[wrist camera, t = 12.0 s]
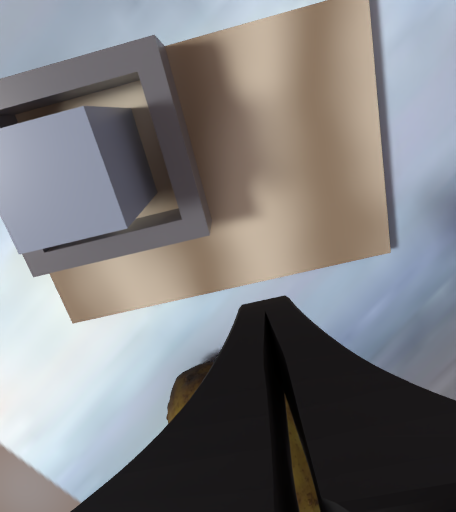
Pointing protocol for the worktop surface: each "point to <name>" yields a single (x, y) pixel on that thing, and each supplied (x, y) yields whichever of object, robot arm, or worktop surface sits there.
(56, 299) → the worktop surface
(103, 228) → the plug
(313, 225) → the board
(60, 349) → the worktop surface
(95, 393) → the worktop surface
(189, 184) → the frame
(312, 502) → the potato
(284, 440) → the robot arm
